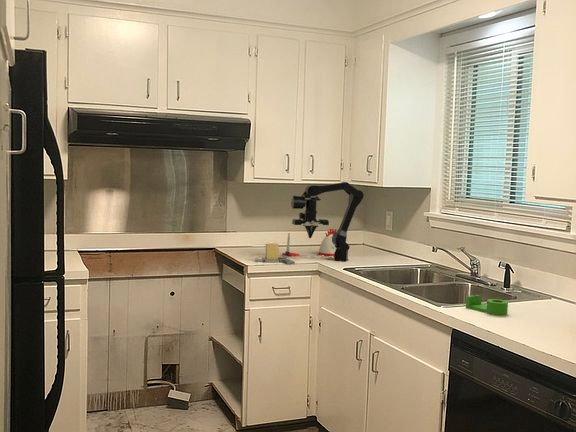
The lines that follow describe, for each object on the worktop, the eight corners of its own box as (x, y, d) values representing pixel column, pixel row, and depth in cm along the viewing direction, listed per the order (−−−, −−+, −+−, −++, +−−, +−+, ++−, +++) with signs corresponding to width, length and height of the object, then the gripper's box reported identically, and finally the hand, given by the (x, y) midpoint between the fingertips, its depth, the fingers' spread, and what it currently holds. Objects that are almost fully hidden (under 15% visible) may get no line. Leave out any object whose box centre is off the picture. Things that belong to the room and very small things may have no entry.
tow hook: (289, 254, 360) (280, 255, 353) (291, 231, 360) (281, 232, 352) (302, 256, 356) (292, 257, 348) (303, 233, 355) (294, 233, 347)
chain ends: (287, 259, 337) (287, 257, 337) (294, 264, 323) (294, 261, 323) (254, 260, 332) (254, 257, 332) (260, 264, 318) (260, 261, 318)
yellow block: (276, 260, 333) (276, 243, 332) (278, 261, 329) (278, 244, 328) (265, 260, 331) (265, 243, 330) (266, 261, 327) (267, 244, 327)
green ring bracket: (511, 315, 225) (512, 302, 225) (498, 317, 221) (499, 304, 221) (478, 306, 238) (478, 294, 238) (465, 308, 234) (465, 296, 234)
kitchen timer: (347, 256, 358) (348, 229, 357) (326, 257, 352) (327, 230, 350) (334, 252, 370) (335, 227, 369) (314, 253, 364) (315, 227, 363)
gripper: (322, 207, 344) (321, 236, 345) (289, 207, 339) (288, 236, 340) (329, 209, 333) (328, 239, 335) (295, 209, 328) (294, 239, 330)
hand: (309, 238), depth 335 cm, fingers closed
